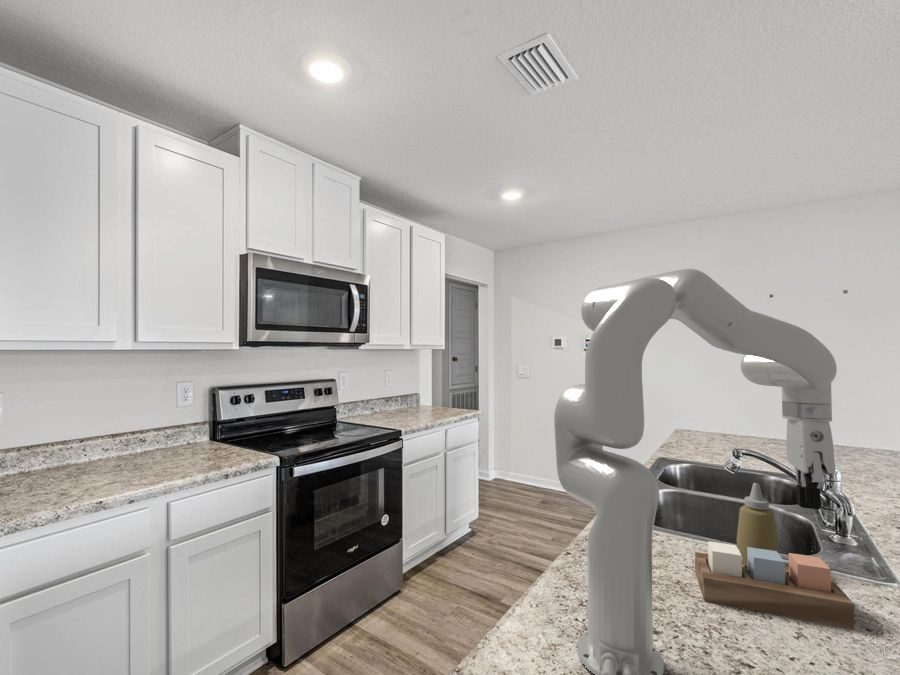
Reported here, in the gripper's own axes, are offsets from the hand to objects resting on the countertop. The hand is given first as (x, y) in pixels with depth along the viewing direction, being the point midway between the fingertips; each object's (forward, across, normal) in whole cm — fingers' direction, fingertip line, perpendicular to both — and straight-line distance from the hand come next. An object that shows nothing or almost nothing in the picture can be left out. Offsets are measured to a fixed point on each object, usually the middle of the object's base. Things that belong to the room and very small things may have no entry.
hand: (808, 506), depth 85 cm
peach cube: (+16, 0, 0) cm, 16 cm away
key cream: (+15, 0, +14) cm, 21 cm away
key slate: (+15, 0, +7) cm, 17 cm away
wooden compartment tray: (+19, 0, +7) cm, 20 cm away
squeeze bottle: (+19, +17, +5) cm, 26 cm away
